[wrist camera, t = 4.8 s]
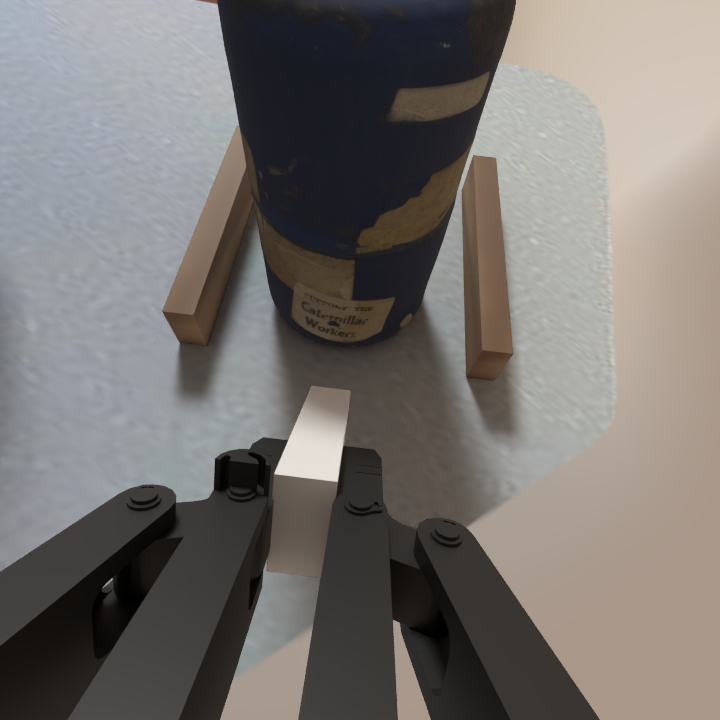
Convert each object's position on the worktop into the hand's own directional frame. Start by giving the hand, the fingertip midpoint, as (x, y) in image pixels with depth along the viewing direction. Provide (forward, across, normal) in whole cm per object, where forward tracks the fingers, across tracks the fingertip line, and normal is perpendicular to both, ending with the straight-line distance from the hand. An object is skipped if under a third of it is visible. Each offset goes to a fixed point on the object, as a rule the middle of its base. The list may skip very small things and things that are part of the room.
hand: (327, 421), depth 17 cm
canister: (+12, 0, +3) cm, 13 cm away
